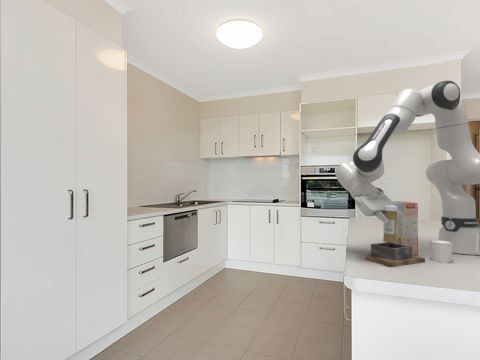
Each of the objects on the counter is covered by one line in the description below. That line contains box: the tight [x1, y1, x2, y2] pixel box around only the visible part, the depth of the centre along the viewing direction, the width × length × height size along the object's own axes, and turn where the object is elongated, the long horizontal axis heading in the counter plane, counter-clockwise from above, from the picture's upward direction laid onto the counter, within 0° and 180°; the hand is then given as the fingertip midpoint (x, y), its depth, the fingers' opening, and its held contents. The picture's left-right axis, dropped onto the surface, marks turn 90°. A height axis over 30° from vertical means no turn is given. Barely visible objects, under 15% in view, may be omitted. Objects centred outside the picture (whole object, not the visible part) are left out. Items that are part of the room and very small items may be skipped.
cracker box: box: [391, 200, 419, 256], centre depth 116 cm, size 14×6×21 cm, turn 173°
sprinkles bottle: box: [382, 206, 398, 243], centre depth 102 cm, size 5×5×13 cm
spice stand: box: [364, 242, 426, 268], centre depth 101 cm, size 17×11×6 cm, turn 112°
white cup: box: [429, 239, 453, 264], centre depth 101 cm, size 7×7×7 cm
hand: (392, 222), depth 101 cm, fingers closed on sprinkles bottle, 4 cm apart
